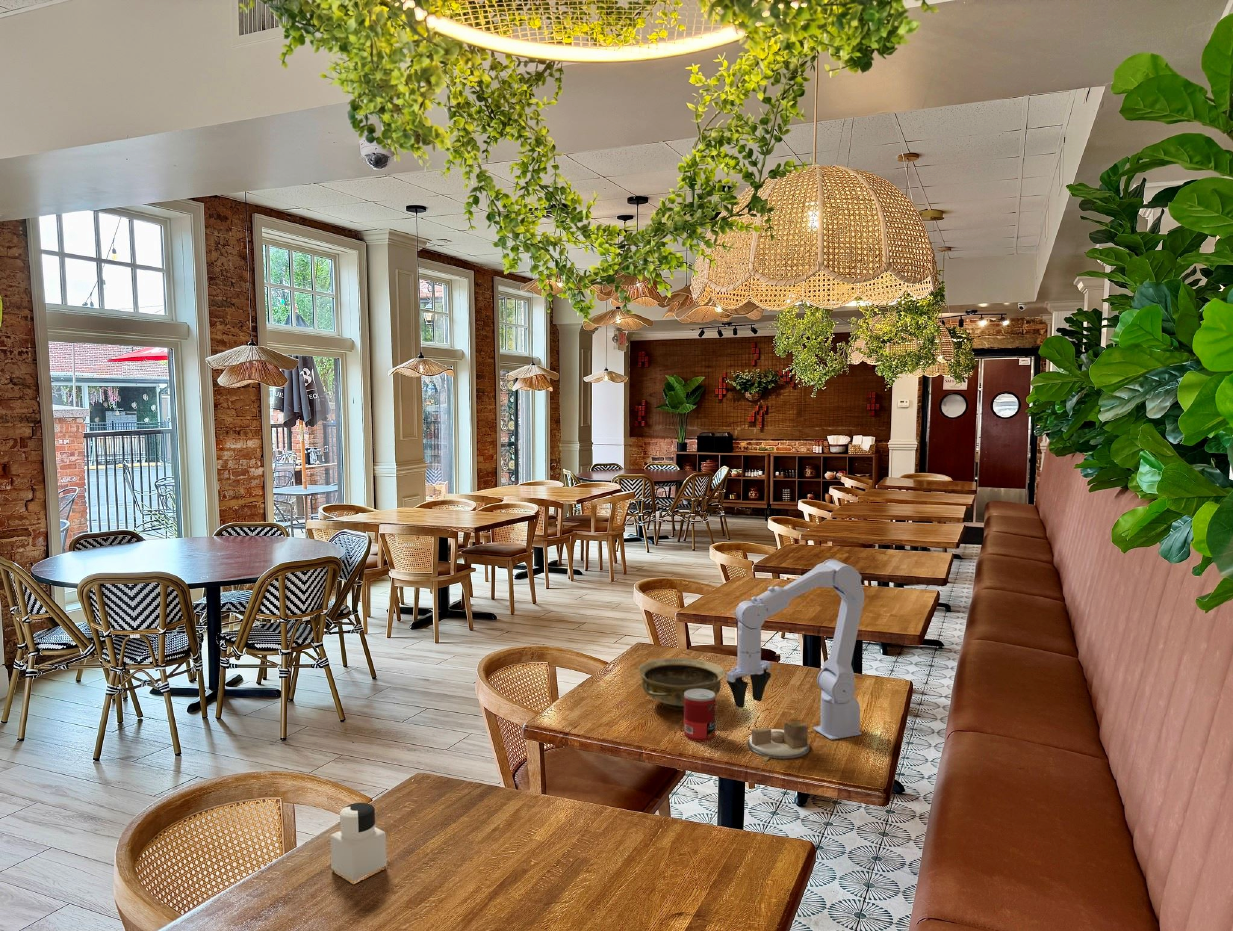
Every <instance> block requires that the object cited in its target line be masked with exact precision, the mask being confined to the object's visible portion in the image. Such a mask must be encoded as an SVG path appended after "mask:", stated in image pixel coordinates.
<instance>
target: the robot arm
mask: <svg viewBox="0 0 1233 931" xmlns="http://www.w3.org/2000/svg"><path fill="white" fill-rule="evenodd" d="M862 578H863V577H862V575H861V574H860V573H859V571H858V570H857V569H856V568H855V567H854V566H852V565H850V564H849V565H848V564H845V563H843V562H841V561H839V560H837V559H835V558H829V559H826V560H824V562H821V563H818V564H816V565H815V566H814V567H813V569H811V570H809V571H808V572H806V573H804V574H803V575H802V576H800V577H798V578H796V579H795V580H793V581H792V582H790V583H788V584H786V585H785V586H784V587H781V586H778V585H776V586H771V585H770V586H769V587H767V591H765V592H763V593H762V594H759V595H757V596H752V597H750V598H751V600H742V601H741V602H739V604H738V605H737V606H736V608H735V610H734V611H733V612H734V613H733V615H734V617H735V619H736V620H737V664H736V666H735V667H734V668H733V669H731V670H730V671H728V672H726V683H727V684H728V686H729V688H730V691H731V694H732V697H733V700H734V705H735V707H737V708H740V709H744V708H745V701H746V693H747V689H748V687H749V684H750V682H748V681H745V680H744V679H743V678H746V677H750V681H751V687H752V688H751V690H752V694H751V695H752V699H753V700H754V701H757V702H762V699H763V696H764V692H765V689H766V686H767V684H768V682H769V680H770V679H771V676H772V674H771V672H768V671H770V670H771V662H770V661H767V660H762V658H761V657H762V649H761V648H762V626H763V625H764V623H765V622H766V619H767V618H770V617H772V616H774V615H775V614H777V613H779V612H780V611H782V610H784V609H786V608H788V606H789V605H790V601H791V600H793V599H795V598H796V597H799V596H801V595H803V594H805V593H807V592H809V591H811V590H813V589H815V588H817V587H823V588H830V589H833V590H835V592H836V594H838V596H839V597H840V599H841V601H840V605H839V610H838V615H837V620H836V625H835V629H834V634H833V639H832V645H831V649H830V654H829V658H828V659H826V660H825V661H824V663H823V665H822V668H821V670H820V671H819V672H818V674H817V678H816V682H817V686H818V688H819V689H821V693H820V725H817V726H813V730H814V731H816V732H818V733H819V734H821V735H822V736H824V737H826V738H827V739H829V740H830V741H831V740H838V739H844V738H850V737H855V736H861V735H863V732H861V730H860V729H861V707H860V703H859V701H858V700H857V698H856V697H855V696H854V695H855V693H856V687H855V675H856V674H855V673H854V670H853V666H852V661H853V657H854V651H855V646H856V641H857V636H858V631H859V628H860V622H861V619H862V618H861V616H862V614H863V608H864V604H865V591H864V588H863V585H862Z"/></svg>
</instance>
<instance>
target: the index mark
mask: <svg viewBox="0 0 1233 931" xmlns="http://www.w3.org/2000/svg"><path fill="white" fill-rule="evenodd" d="M770 759H771V758H770V757H767V756H763V758H762V759H761V761H762V762H768V761H769V760H770Z"/></svg>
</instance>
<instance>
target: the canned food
mask: <svg viewBox="0 0 1233 931" xmlns="http://www.w3.org/2000/svg"><path fill="white" fill-rule="evenodd" d="M716 697H717V695H716V696H715V693H714V692H713V691H710V690H707V689H690V690H687V691H685V693H684V710H683V734H684V737H685V738H687V739H688V740H690V739H691V741H694V740H696V741H695V742H707V741H711V740H714V739H715V736H716V711H717V710H716V709H717V708H716V706H717V705H716V704H717V703H716V701H717V698H716Z"/></svg>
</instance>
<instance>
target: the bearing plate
mask: <svg viewBox="0 0 1233 931" xmlns="http://www.w3.org/2000/svg"><path fill="white" fill-rule="evenodd" d="M746 745H747V748H748V749H749V750H750V751H751V752H753V753H754V754H757V755H759V756H762V757H765V756H767V757H770V759H774V760H775V759H777V760H790V759H797V758H801V757H803V756H806V755H807V754H808V753H809V752H810V745H809V743H808V742H807V750H806V751H805V752H803V753H801V754H799V755H795V756H784V757H783V756H772V755H767V754H763V753H760V752H758V751H756V750H754V749H753V748H752V747H751V746H750V743H749V739H748V740H747V744H746Z"/></svg>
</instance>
